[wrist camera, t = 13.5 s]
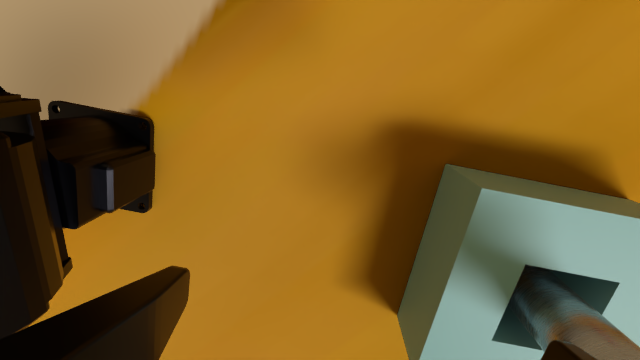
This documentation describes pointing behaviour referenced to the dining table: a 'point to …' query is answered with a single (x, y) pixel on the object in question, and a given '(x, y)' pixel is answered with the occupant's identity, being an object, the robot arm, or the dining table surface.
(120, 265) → the dining table surface
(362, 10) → the dining table surface
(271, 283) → the dining table surface
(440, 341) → the block
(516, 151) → the dining table surface
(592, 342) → the pin
